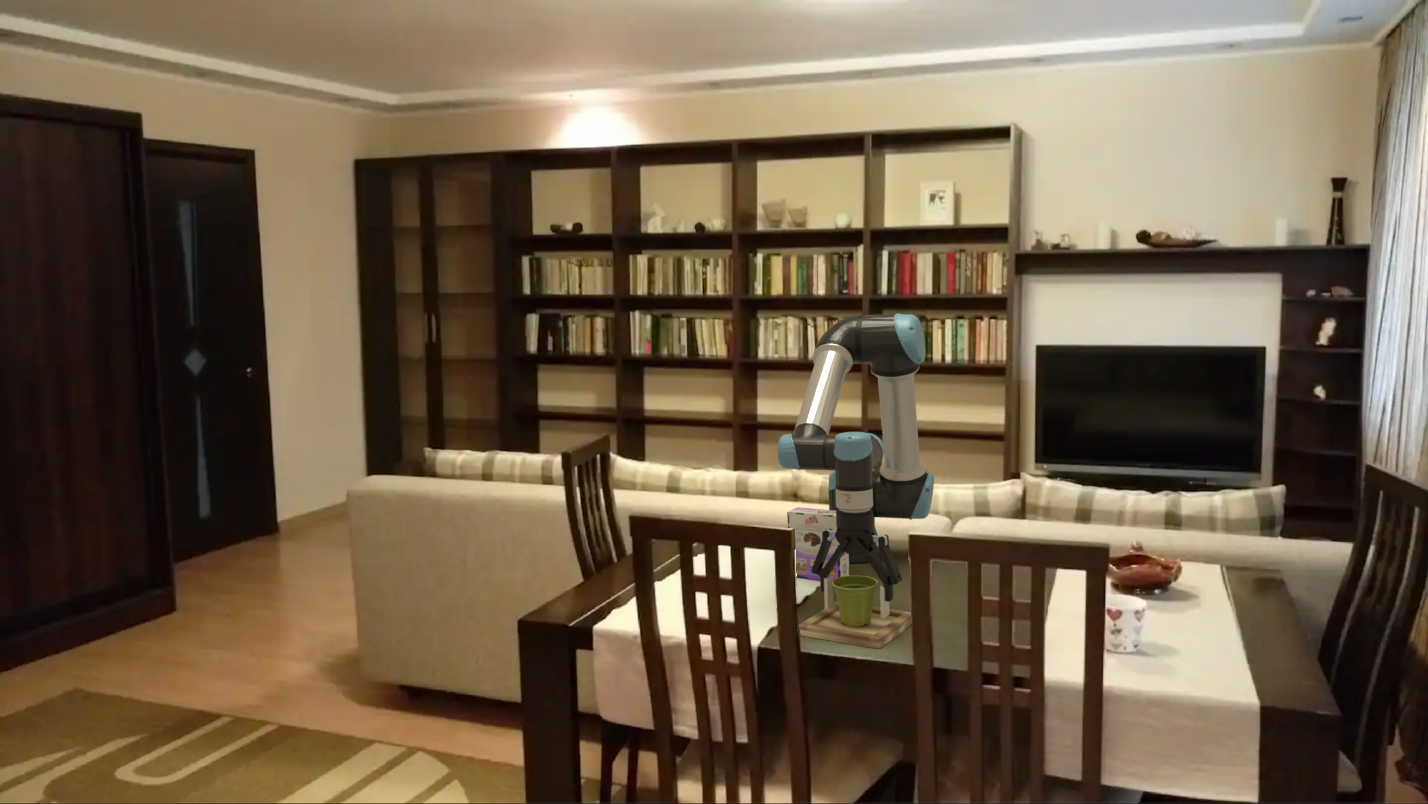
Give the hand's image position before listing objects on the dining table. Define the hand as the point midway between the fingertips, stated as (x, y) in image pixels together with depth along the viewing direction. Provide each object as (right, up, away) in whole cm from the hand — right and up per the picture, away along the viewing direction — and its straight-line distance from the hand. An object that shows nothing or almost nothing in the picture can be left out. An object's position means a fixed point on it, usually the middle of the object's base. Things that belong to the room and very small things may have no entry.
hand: (856, 611), depth 218 cm
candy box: (-4, +1, +38) cm, 39 cm away
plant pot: (0, -3, 0) cm, 3 cm away
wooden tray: (0, -4, 0) cm, 4 cm away
